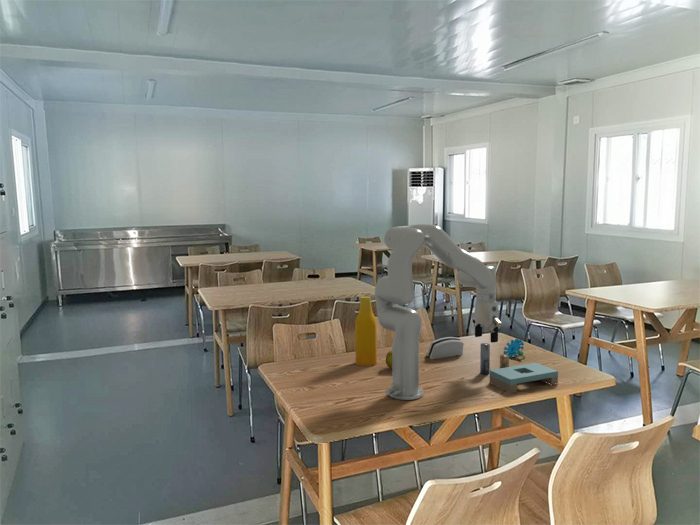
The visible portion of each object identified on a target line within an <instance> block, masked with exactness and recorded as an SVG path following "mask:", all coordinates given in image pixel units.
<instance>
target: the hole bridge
mask: <svg viewBox="0 0 700 525" xmlns="http://www.w3.org/2000/svg"><path fill="white" fill-rule="evenodd" d="M540 380H542V381H541V382H543V381H544V382H543V383H545V382H547V383H550V384H555V383H559V382H558V381H559V370H556V369H554V368H551V367H548V366H546V365H543V364H542V363H541V364H540V363H538V362H532V363H525V364H519V365H513V366H509V367H506V368H500V367H499V368H495V369H490V373H489V384H491V385H493V386H495V387H498V388H500V389H501V390H503V391H506V392H508V393H509V394H510V393H511V394H513V393H517V392H518V384H523V383H528V382H533V381H540ZM547 383H546V384H547ZM550 384H549V385H550Z"/></svg>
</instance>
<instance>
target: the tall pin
mask: <svg viewBox="0 0 700 525" xmlns="http://www.w3.org/2000/svg"><path fill="white" fill-rule="evenodd" d="M490 350H491V345H490V343H489V342H488V343H487V342H481V343H480V356H479V357H480V362H479V364H480V365H479V366H480V367H479V369H480V370H479V371H480V372H479V374H480V375H484V376H488V375H490V370H491V368H490V363H491V362H490V361H491V359H490V357H491V355H490V354H491V351H490Z"/></svg>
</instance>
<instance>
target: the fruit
mask: <svg viewBox="0 0 700 525" xmlns="http://www.w3.org/2000/svg"><path fill="white" fill-rule="evenodd" d="M385 364H386V366H387V368H389V369H391V370H392V349H391V350H389V351H388V352H387V354H386V357H385Z"/></svg>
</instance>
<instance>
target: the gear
mask: <svg viewBox="0 0 700 525" xmlns="http://www.w3.org/2000/svg"><path fill="white" fill-rule="evenodd" d="M524 346H525V342H524V341H523V340H522V338H521V339H520V338H519V339H518V338H515V339H511V340H510V342H507V343H506V346H504V347H503V350H504V351H503V354H506V355H509V359H510V358H511V359H512V358H513V357H514V358H515V357H517V356H519V355H520V356H519V357H522V358H523V359H526V356H525V355H524V348H525V347H524Z"/></svg>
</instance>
